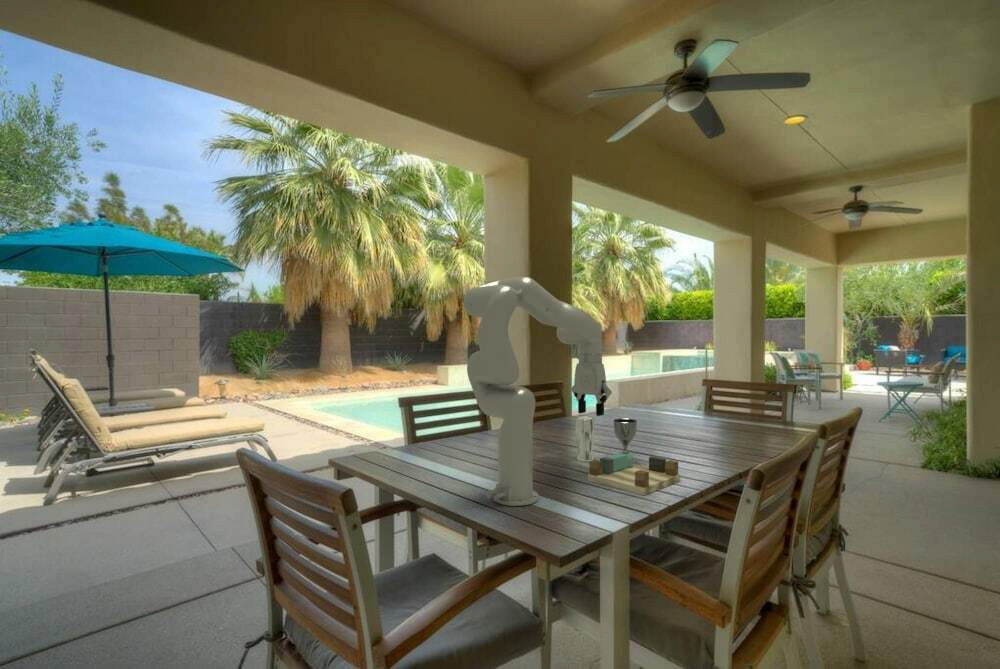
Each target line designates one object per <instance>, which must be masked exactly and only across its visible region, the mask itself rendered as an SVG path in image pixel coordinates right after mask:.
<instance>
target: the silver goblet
mask: <svg viewBox="0 0 1000 669" xmlns="http://www.w3.org/2000/svg"><path fill="white" fill-rule="evenodd" d="M637 425H638V423H637V420H636V419H633V418H616V419H615V418H614V419H613V431H614V434H615V437H616V438H617V440H618V441H619V442H620V443H621V446H622V447H623V451H628V447H629V445H630V444H631V442H632V441H633V440H634V439H635V437H636V434H637V429H638V426H637ZM633 464H634V465H637V462H635V461H633Z"/></svg>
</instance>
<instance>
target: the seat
mask: <svg viewBox="0 0 1000 669" xmlns="http://www.w3.org/2000/svg"><path fill="white" fill-rule="evenodd" d="M588 463H589V468H588V469H589V473H588V474H587V481H588V482H591V483H595V484H599V485H603V486H607V487H611V488H613V489H618V490H621V491H624V492H625V491H626V492H629V493H632V494H637V495H639V496H643V495H644V496H646V495H649V494H651V492H652V493H655V492H657V491H660V490H661V488H662V489H664V488H666V486H667V487H669V486H671V485H670V484H672V485H674V484H676V483H675V482H677V483H678V481H679V482H681V474H679V461H678V460H677V461H676V460H672V459H669V460H667V459H666V458H660V457H655V456H650V457H648V467H647V466H644V465H643V466H642V465H640V464H639V465H638V464H635V465H634V464H633V466H632V467H627V468H624V469H621V470H618V471H615V472H612V473H605V472H602V461H600V460H598V459H594V460H593V461H588ZM673 483H674V484H673ZM668 485H669V486H668ZM663 487H664V488H663ZM656 490H657V491H656Z"/></svg>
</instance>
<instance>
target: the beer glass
mask: <svg viewBox="0 0 1000 669" xmlns="http://www.w3.org/2000/svg"><path fill="white" fill-rule="evenodd" d="M574 428H575V430H574V431H575V439H576V444H577V456H576V460H577V461H580V462H586V463H587V462H589V461H593V460H595V457H594V449H593V448H594V441H595V435H596V428H595V418H594V417H592V416H577V417H576V418H575V427H574Z"/></svg>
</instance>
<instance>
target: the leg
mask: <svg viewBox="0 0 1000 669" xmlns="http://www.w3.org/2000/svg"><path fill="white" fill-rule="evenodd" d="M633 458H634V456H633V453H632V452H630V451H628V450H627V451H624V450H622V451H620V452H618V453H616V454H611V455H608V456H604V457H603V456H602V457H600V458H599V461H602V472H605V473H612V472H615V471H618V470H621V469H624V468H627V467H632V466H633V462H634V461H633V460H634V459H633Z"/></svg>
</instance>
